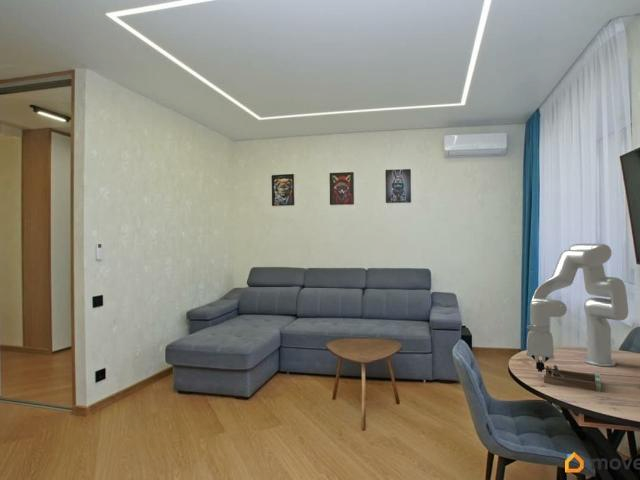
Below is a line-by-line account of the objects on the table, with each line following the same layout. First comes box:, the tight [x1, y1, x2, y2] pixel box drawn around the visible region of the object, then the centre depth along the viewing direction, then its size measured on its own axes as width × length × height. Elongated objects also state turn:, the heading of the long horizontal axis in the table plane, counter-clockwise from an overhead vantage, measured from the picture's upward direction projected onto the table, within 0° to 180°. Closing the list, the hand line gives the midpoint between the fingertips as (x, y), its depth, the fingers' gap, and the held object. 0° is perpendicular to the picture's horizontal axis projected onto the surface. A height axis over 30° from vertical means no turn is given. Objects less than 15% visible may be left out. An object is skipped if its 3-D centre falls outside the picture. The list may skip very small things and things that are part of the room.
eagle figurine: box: [544, 364, 565, 378], centre depth 169 cm, size 8×7×9 cm
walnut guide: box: [543, 367, 602, 392], centre depth 166 cm, size 12×20×4 cm, turn 57°
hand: (540, 371), depth 171 cm, fingers closed
